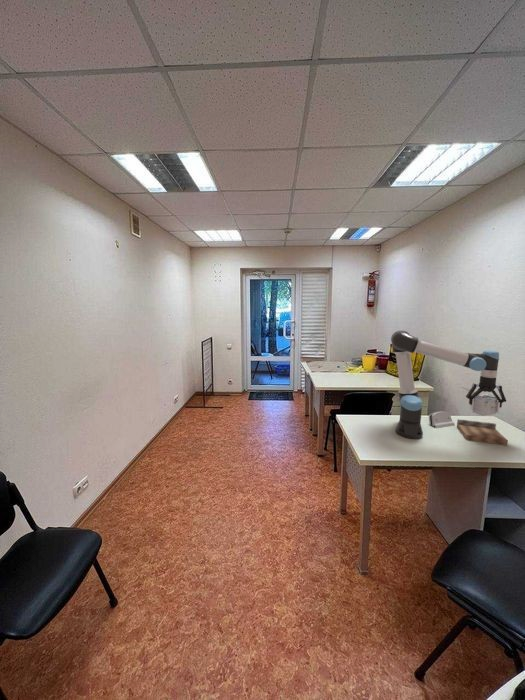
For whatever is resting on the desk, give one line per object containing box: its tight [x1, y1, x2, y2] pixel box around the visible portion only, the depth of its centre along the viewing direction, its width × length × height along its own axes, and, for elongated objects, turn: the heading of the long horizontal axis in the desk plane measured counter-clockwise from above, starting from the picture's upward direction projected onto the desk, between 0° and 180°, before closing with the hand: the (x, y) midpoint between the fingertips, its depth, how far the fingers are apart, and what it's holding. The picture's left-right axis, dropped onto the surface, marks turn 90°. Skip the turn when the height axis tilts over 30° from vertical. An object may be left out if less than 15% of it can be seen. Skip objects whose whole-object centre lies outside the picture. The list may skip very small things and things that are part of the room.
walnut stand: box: [456, 418, 509, 446], centre depth 168 cm, size 20×18×6 cm
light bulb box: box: [472, 393, 498, 417], centre depth 165 cm, size 11×7×11 cm, turn 106°
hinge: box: [428, 410, 455, 429], centre depth 185 cm, size 17×5×10 cm, turn 106°
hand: (484, 411), depth 165 cm, fingers closed on light bulb box, 12 cm apart
